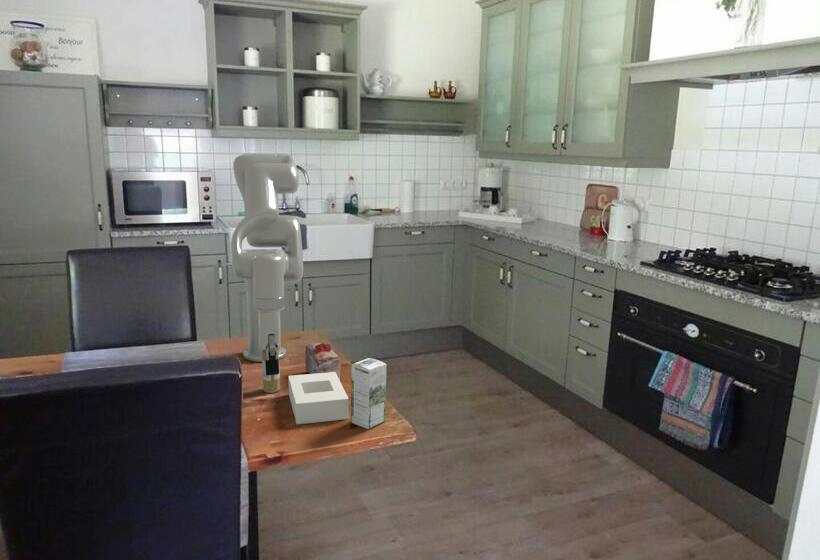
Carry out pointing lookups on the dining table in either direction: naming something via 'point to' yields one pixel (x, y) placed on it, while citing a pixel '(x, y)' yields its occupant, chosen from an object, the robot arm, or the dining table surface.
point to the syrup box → (368, 393)
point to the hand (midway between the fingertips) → (271, 368)
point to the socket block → (318, 398)
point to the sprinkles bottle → (270, 377)
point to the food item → (321, 359)
